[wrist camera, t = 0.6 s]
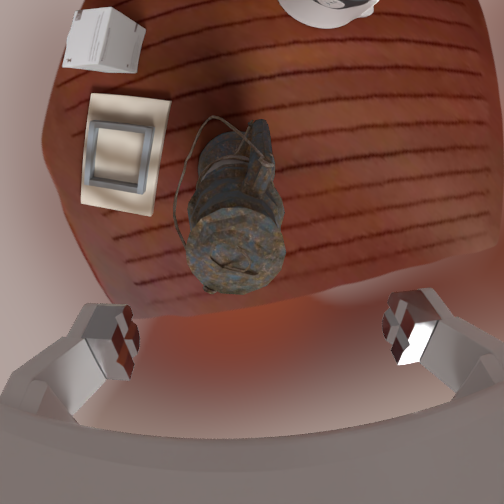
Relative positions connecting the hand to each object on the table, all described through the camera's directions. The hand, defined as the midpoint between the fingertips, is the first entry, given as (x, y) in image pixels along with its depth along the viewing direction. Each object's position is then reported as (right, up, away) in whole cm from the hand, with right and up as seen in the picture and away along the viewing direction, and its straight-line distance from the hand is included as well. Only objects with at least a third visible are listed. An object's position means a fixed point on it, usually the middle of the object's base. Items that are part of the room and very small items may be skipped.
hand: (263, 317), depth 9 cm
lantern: (-4, +16, +41) cm, 44 cm away
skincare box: (-21, +35, +30) cm, 50 cm away
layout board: (-22, +19, +38) cm, 48 cm away
